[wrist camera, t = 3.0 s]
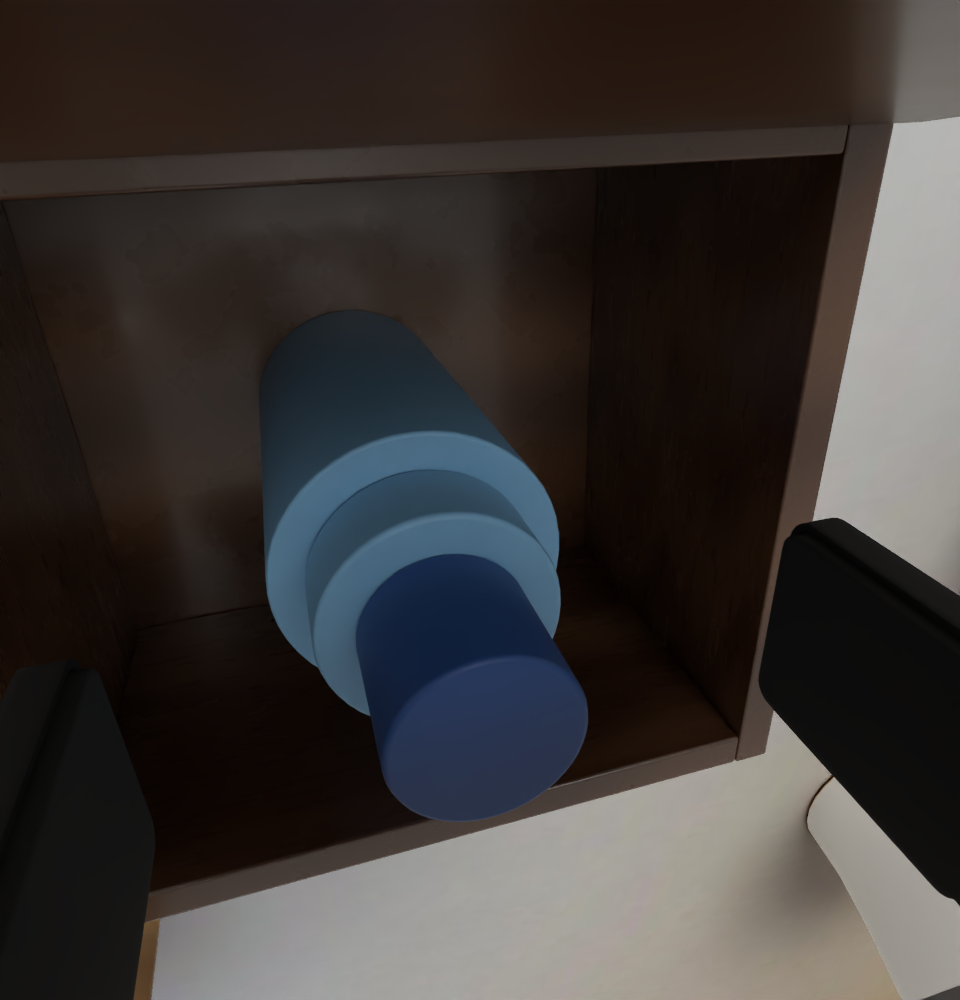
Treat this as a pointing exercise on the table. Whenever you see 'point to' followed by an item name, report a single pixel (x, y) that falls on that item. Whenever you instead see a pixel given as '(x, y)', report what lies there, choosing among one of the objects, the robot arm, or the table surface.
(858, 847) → the cup
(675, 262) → the brown wooden box
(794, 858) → the table surface
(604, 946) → the table surface
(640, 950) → the table surface
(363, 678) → the bottle
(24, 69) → the wooden box lid
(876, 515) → the table surface
